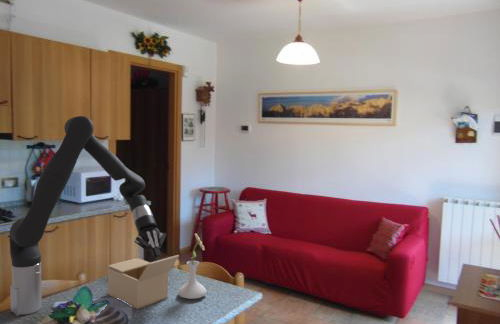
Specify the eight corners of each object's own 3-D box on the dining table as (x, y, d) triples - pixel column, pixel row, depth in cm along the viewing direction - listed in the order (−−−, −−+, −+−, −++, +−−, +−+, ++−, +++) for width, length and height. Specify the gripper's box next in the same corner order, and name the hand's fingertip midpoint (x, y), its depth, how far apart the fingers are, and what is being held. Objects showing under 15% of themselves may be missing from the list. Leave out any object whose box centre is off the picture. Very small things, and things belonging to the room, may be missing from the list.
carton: (137, 309, 149) (137, 280, 148) (108, 294, 161) (108, 267, 161) (167, 298, 159) (167, 271, 159) (137, 285, 172) (138, 259, 171)
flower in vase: (201, 303, 156) (202, 239, 154) (173, 300, 158) (174, 237, 156) (211, 290, 168) (212, 231, 166) (185, 287, 171) (186, 229, 169)
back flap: (122, 272, 155) (122, 271, 154) (108, 266, 161) (108, 265, 161) (151, 264, 165) (151, 263, 165) (137, 259, 171) (137, 257, 171)
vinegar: (160, 275, 184) (161, 232, 183) (155, 281, 177) (156, 236, 176) (146, 274, 185) (146, 232, 183) (141, 280, 178) (141, 235, 176)
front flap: (138, 279, 148) (139, 281, 148) (148, 263, 143) (149, 264, 143) (167, 270, 158) (168, 271, 158) (178, 254, 154) (179, 255, 153)
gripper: (130, 215, 153) (144, 255, 144) (162, 212, 161) (177, 249, 153) (125, 226, 157) (138, 266, 149) (156, 222, 166) (170, 259, 157)
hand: (157, 257), depth 151 cm, fingers closed
